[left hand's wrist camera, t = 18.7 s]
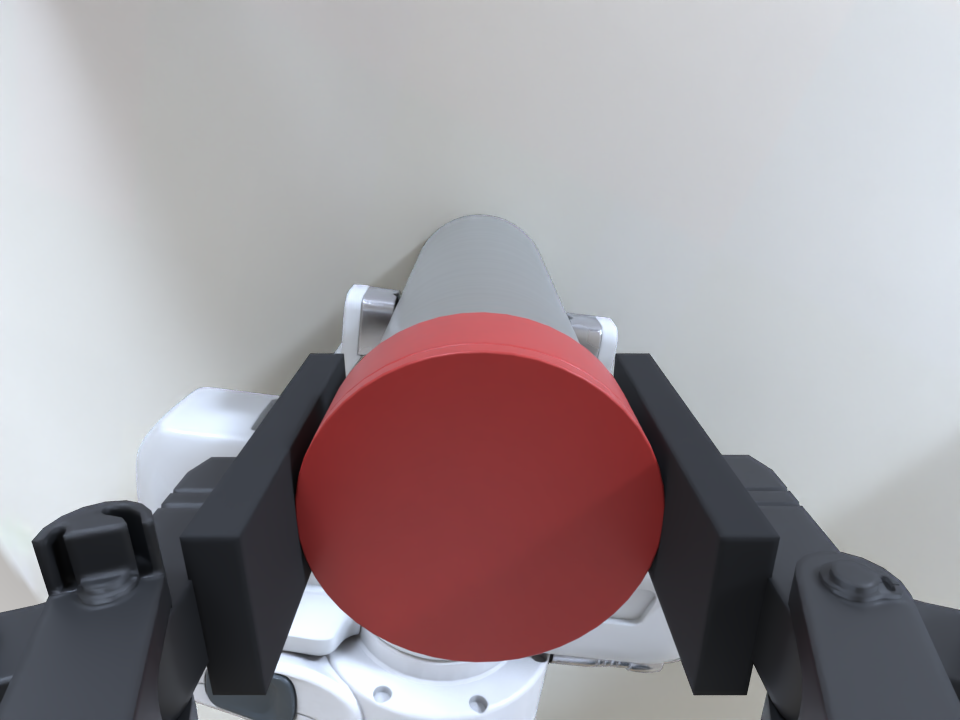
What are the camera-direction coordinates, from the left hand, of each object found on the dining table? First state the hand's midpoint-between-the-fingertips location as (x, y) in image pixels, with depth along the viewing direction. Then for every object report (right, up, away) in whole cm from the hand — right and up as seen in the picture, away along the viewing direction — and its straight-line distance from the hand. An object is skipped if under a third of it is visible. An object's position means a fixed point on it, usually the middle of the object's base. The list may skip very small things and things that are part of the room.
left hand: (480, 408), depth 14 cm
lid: (0, -1, -4) cm, 4 cm away
